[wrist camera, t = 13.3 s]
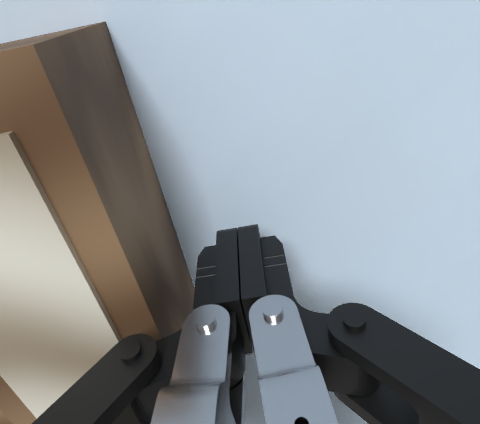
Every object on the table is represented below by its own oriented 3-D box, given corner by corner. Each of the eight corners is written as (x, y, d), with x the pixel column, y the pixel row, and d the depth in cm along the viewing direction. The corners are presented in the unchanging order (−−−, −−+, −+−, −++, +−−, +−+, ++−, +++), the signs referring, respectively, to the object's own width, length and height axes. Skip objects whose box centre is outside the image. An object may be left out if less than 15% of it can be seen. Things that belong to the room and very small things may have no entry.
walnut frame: (219, 363, 19) (220, 478, 15) (107, 381, 20) (74, 498, 15) (106, 21, 11) (28, 45, 6) (-86, 62, 11) (-286, 112, 7)
